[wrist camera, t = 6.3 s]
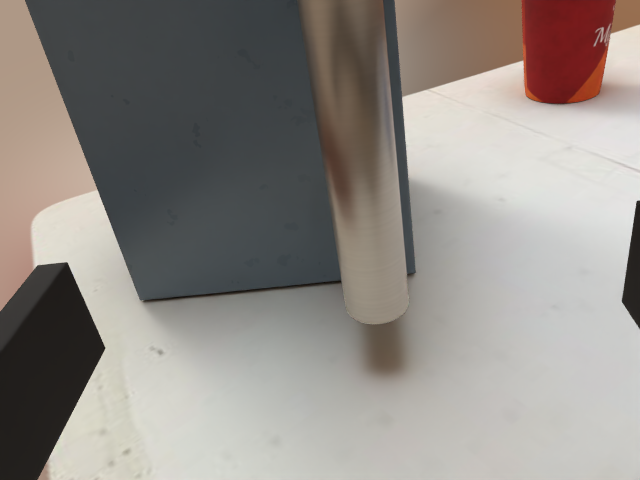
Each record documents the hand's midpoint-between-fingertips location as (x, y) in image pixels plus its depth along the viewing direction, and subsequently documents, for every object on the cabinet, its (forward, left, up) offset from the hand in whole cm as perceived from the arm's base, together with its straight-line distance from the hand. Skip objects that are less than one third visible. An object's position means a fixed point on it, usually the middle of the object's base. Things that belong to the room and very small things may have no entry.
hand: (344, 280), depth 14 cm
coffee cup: (-9, +41, -10) cm, 44 cm away
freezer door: (-10, +6, -10) cm, 15 cm away
